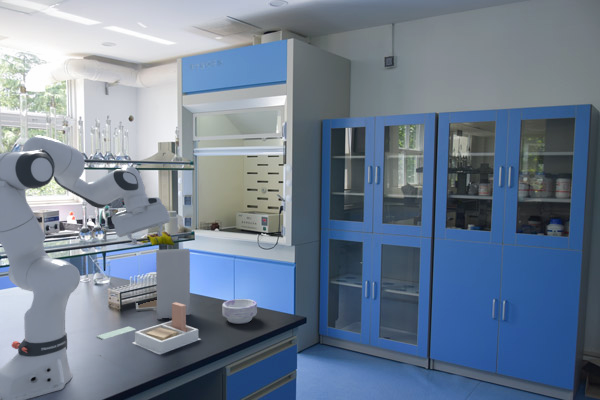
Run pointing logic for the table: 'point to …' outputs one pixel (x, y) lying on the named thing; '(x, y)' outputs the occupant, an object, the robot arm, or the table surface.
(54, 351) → the robot arm
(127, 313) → the table surface
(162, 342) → the white divided tray
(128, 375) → the table surface
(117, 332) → the sage mat
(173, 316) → the terracotta board
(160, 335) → the offcut upper
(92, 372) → the table surface
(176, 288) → the brochure
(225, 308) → the paper bowls
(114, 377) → the table surface
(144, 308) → the clipboard
